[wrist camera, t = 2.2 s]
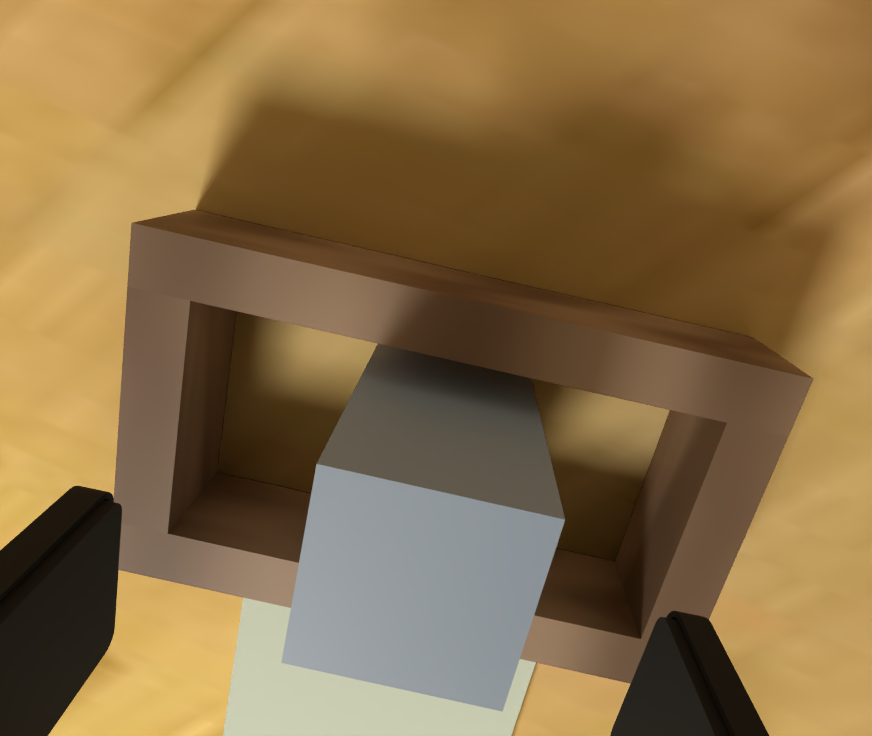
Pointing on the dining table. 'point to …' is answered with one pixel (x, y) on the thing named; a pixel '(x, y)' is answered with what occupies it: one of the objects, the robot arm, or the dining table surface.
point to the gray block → (427, 531)
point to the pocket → (455, 340)
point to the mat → (340, 694)
